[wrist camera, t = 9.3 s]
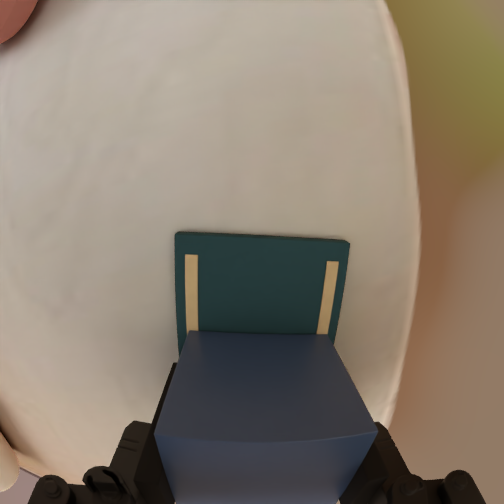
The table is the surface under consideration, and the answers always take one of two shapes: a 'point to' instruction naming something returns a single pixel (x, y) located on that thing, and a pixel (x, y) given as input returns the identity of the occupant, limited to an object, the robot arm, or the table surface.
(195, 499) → the blue block
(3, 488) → the mug
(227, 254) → the mat
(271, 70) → the table surface
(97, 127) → the table surface
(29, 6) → the pink vase
